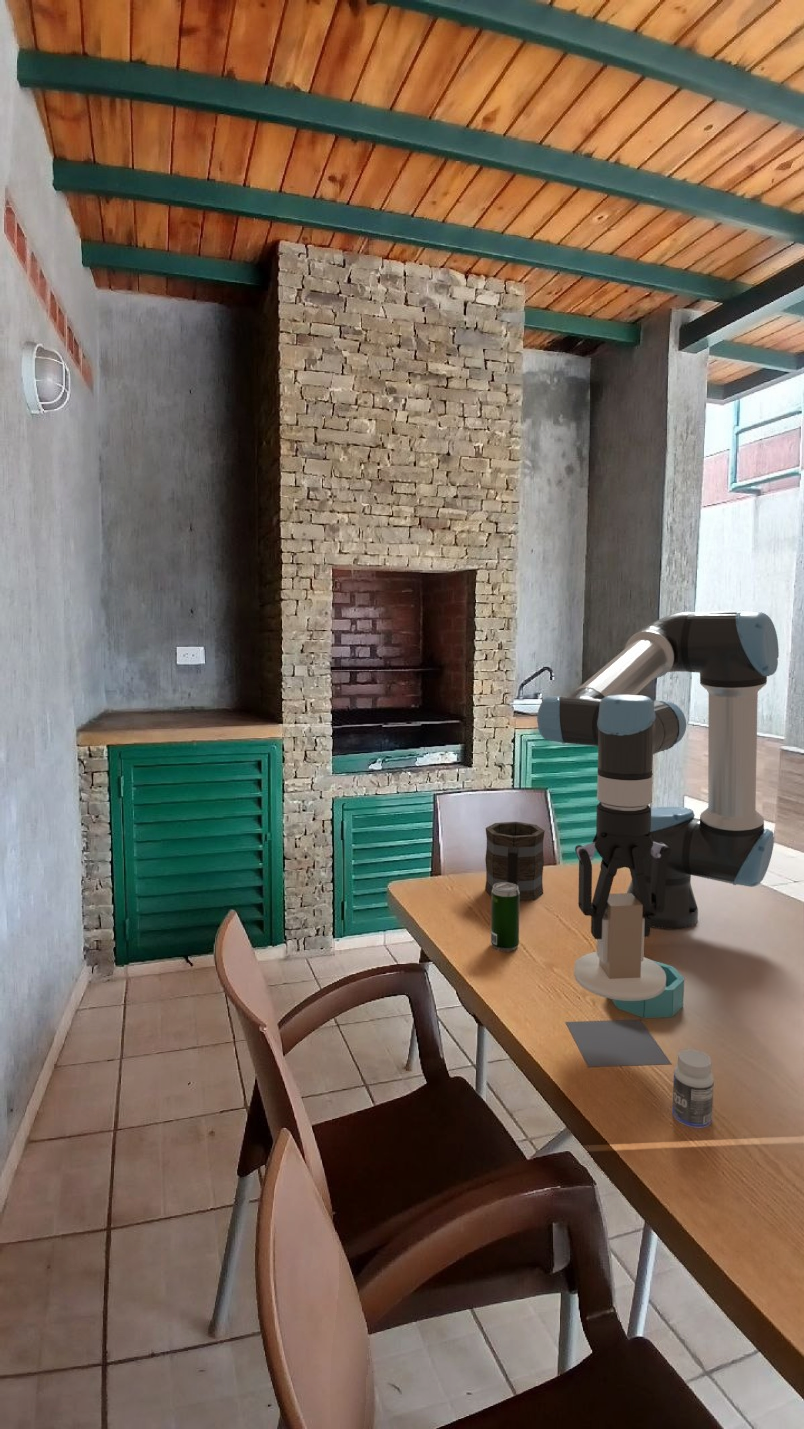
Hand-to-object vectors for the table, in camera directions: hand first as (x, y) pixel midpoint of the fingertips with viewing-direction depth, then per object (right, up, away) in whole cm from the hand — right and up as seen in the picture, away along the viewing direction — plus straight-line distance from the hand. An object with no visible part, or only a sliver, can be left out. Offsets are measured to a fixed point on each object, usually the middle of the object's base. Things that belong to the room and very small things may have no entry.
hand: (619, 957), depth 111 cm
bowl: (+8, -12, +14) cm, 20 cm away
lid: (0, -3, 0) cm, 3 cm away
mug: (-7, -6, +62) cm, 62 cm away
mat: (0, -14, +1) cm, 14 cm away
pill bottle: (+5, -16, -15) cm, 22 cm away
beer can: (-12, -9, +36) cm, 39 cm away
